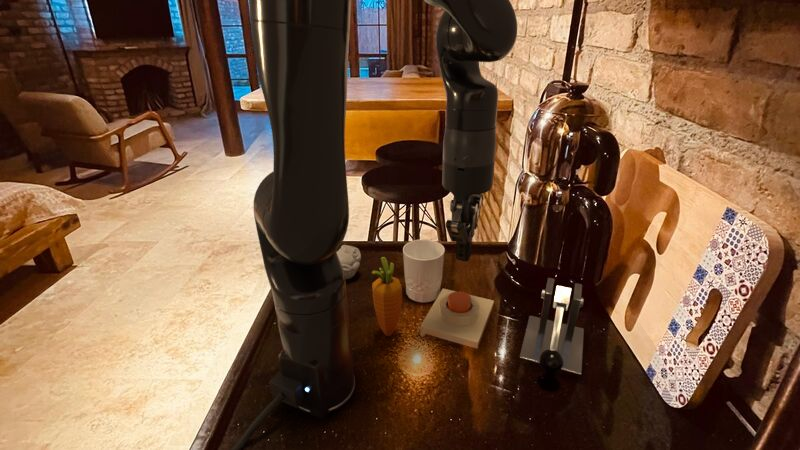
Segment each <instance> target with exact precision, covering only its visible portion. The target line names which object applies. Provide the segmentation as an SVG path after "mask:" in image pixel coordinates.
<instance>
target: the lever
mask: <svg viewBox="0 0 800 450" xmlns="http://www.w3.org/2000/svg"><path fill="white" fill-rule="evenodd" d="M572 291H573V290H572V287H568V286H563V285H558V284H557V285H556V286H555V291H554V295H553V301H552V308H553V309H555V312H554V318H553V321H554V324H553V329H552V335H551V341H550V347H549V349H548V350H545V351H543V352H542V353H541V355H540V358H539V361H540V364H539V365H540V367H541V369H542V370H543V371H545V372H547V373H549V374H556V373H558V372H560V371H562V370H561V369H562V367H563V358H562V356H561V354H560V353H559V352H557V350H558V344H559V338H560V332H561V326H562V323H563V319H564V313H565V311H566V312H569V308H570V304H571V296H572Z"/></svg>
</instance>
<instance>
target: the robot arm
mask: <svg viewBox="0 0 800 450" xmlns="http://www.w3.org/2000/svg"><path fill="white" fill-rule="evenodd" d="M423 1H424V2H425V3H426V4H428V5H430V6H433V7H436V8H440V9H442V10H443V12H442V14H441V16H440V18H439V20H438V23H437V28H436V33H435V46H436V52H437V59H438V64H439V69H440V73H441V80H442V83H443V87H444V89H445V90H444V91H445V95H446V96H445V97H446V99H445V120H444V121H445V127H444V134H443V141H442V169H441V170H442V174H441V177H442V178H441V185H442V187H443V189H444V190H446V191H447V192H450V193H451V194H452V195H453V198H452V199H451V200H450V203H449V211H450V212H451V219H447V220H446V222H445V228H446V231H447V234H448V236H449V239H450V241H451V243H452V242H453V243H455V259H456V260H457V261H462V262H468V261H469V260H470V258H471V256H472V248H473V247H472V245H473V238H474V237H475V230H477V228H478V225H479V220H480V219H479V218H480V215H481V214H480V213H481V209H482V204H483V200H484V194H486V193H487V192H489V191H491V190H492V189H493V185H494V177H495V176H494V175H495V165H496V151H497V116H498V106H499V90H498V87H497V85H496V84H495V83H493V82H492V81H490V80H488V79H486V78H485V77H484V76H483V75H482V72H481V69H480V63H495V62H499V61H502V60H503V59H505V58H506V57H507V56H508V55H510V53H511V52H512V50H513V49H514V46H515V44H516V42H517V38H518V20H517V16H516V12H515V9H514V6H513V4H512V3H511V1H510V0H423ZM248 3H249V5H248V7H249V23H250V34H251V43H252V50H253V54H254V60H255V65H256V69H257V73H258V78H259V82H260V87H261V91H262V95H263V99H264V102H265V106H266V110H267V114H268V118H269V122H270V128H271V136H272V147H273V168H272V169H273V170H272V171H271V172H269V174H267V175H266V176H265V177H264V178H263V179H262V180H261V181H260V182H259V184H258V186H257V189H256V190H255V194H254V197H253V205H252V208H253V209H252V210H253V217H254V223H255V228H256V234H257V238H258V243H259V247H260V251H261V256H262V261H263V266H264V272H265V274H266V277H267V280H268V283H269V286H270V289H271V290H270V291H271V293H272V299H273V304H274V309H275V314H276V319H277V321H276V322H277V326H278V331H279V336H280V342H281V348H282V350H281V351H280V352H279V354H278V355H277V356H278V363H279V368H280V371H277V372H276V373H275V375H274V376H273V377H272V378H271V379H270V380H269V381H268V383H269V384H268V385H269V389H270V394H271V398H272V400H271V402H269V404H268V405H267V406H266V407H265V408H264V409H263V410H262V411H261V412H260V413H259V414H258V416H256V418H254V420H253V421H252V423H251V424H250V425H249V427H247V428H246V431H245V432H244V433H243V435H242V436H241V437H240V438H239V439H238V440H237V442H236V443H235V444H234V445H233V446H232V448H230V450H242V448H243V447H244V446H245V445H246V444H247V443H248V442H249V440H250V439H251V438H252V436H253V435H254V434H255V432H256V431H257V430H258V429H259V427H260V426H261V425H262V424H263V422H264V421H265V420H266V419H267V418H268V417H269V416H270V415H271V413H272V412H274V410H275V409H276V408H277V407H278V406H279V405H280V404H281V403H284V404H286V405H287V406H289V407H291V408H294V409H296V410H298V411H300V412H302V413H304V414H308V415H311V416H313V417H316V418H318V419H320V420H325V419H326V418H327V416H328V415H330V414H331V413H334V412H336V411H338V410H340V409H341V408H343V407H344V406H345V405H346V404H348V403H349V402H350V400H351V399H352V398H353V396H354V394H355V391H356V376H355V373H354V372H355V371H354V361H353V350H352V348H353V347H352V337H351V327H350V326H351V325H350V315H349V313H350V312H349V303H348V301H349V300H348V290H347V279H346V278H345V272H344V269H343V267H342V264H341V262H340V260H339V257H338V255H337V251H338V250H339V249H340V248H341V246H342V243H343V242H344V240H345V237H346V234H347V232H348V227H349V224H350V223H349V222H350V205H349V191H348V179H347V162H346V161H347V160H346V133H345V132H346V118H347V117H346V116H347V99H348V74H349V73H348V72H349V70H348V69H349V53H350V52H349V50H350V38H351V32H350V31H351V14H352V13H351V12H352V8H351V7H352V0H248Z"/></svg>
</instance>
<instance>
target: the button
mask: <svg viewBox="0 0 800 450" xmlns="http://www.w3.org/2000/svg"><path fill="white" fill-rule="evenodd" d="M468 294H469V293H467V292H464V291H456V292H453V293H451V294H450V295H449V296H448V308H449V309H450V310H451V311H453V312H456V313H466V312H468V311H469V310H470V308H471V297H470V296H469V295H470V294H469V295H468Z"/></svg>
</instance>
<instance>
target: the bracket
mask: <svg viewBox="0 0 800 450" xmlns="http://www.w3.org/2000/svg"><path fill="white" fill-rule="evenodd" d="M546 281H547V282H546V286H545V289H544V288H542V290H541V295H540V299H543V302H542V308H541V314H540V317H538V316H535V315H529V316H528V320H527V324H526V327H525V332H524V336H523V341H522V344H521V348H520V353H519V357H518V358H519V359H520V360H524V361H527V362H530V363H535V364H538V365H540V361H539V358H540V355H541V353H542V352H543V351H545V350H548V349H549V347H550V341H551V335H552V329H553V324H554V320H551V319H548V318H549V313H550V308H551V301H552V297H553V291H554V285H555V278H552V277H547V280H546ZM572 291H573V292H572V295H571V296H572V297H571V300H570V304H569V309H568V315H567V319H566V323H563V322H562V326H561V332H560V338H559V344H558V350H557V352H559V353H560V354H561V356H562V358H563V367H562V369H561V370H560V371H562V372H566V373H570V374H573V375H576V376H582V370H583V354H584V352H583V351H584V334H585V328H583V327H579V326H576V324H577V319H578V316H579V312H580V308H583V306H584V301H585V298H584V297H582V293H583V284H581V283H578V282H577V283H576V282H575V283H574V287H573V290H572Z"/></svg>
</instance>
